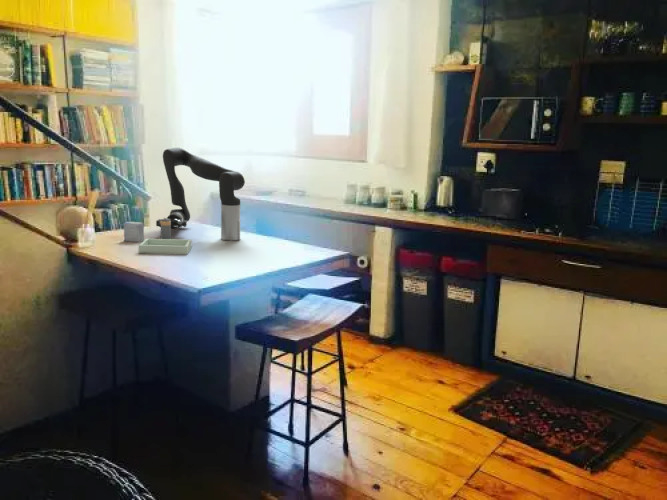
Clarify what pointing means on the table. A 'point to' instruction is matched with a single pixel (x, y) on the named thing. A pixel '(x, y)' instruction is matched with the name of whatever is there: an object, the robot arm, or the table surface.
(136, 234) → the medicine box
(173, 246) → the trough
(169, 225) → the battery cell
